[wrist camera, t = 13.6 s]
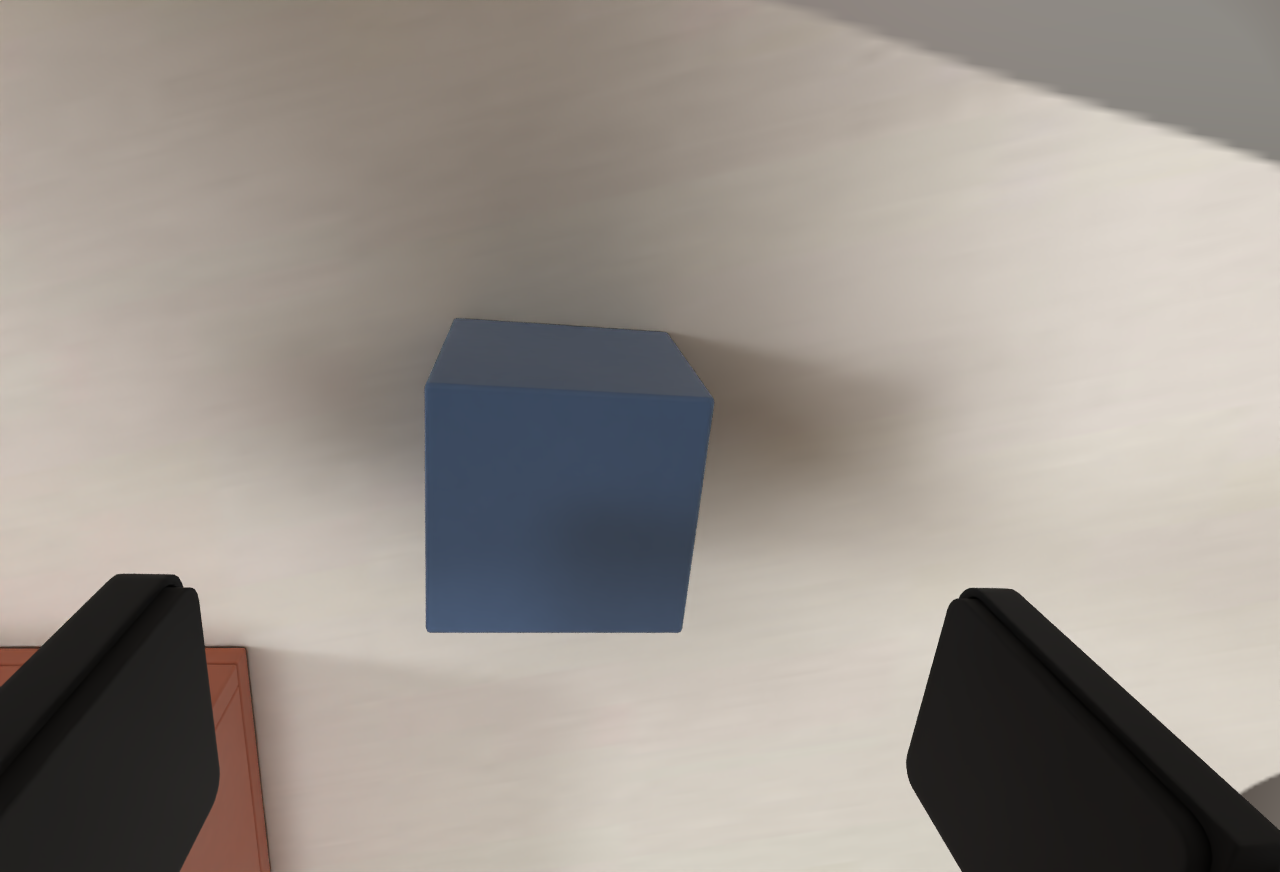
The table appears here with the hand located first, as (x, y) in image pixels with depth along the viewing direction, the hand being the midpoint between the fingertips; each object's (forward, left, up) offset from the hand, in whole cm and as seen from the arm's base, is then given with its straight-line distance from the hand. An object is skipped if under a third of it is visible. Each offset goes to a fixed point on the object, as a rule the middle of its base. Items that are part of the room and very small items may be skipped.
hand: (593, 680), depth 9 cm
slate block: (0, 0, -8) cm, 8 cm away
